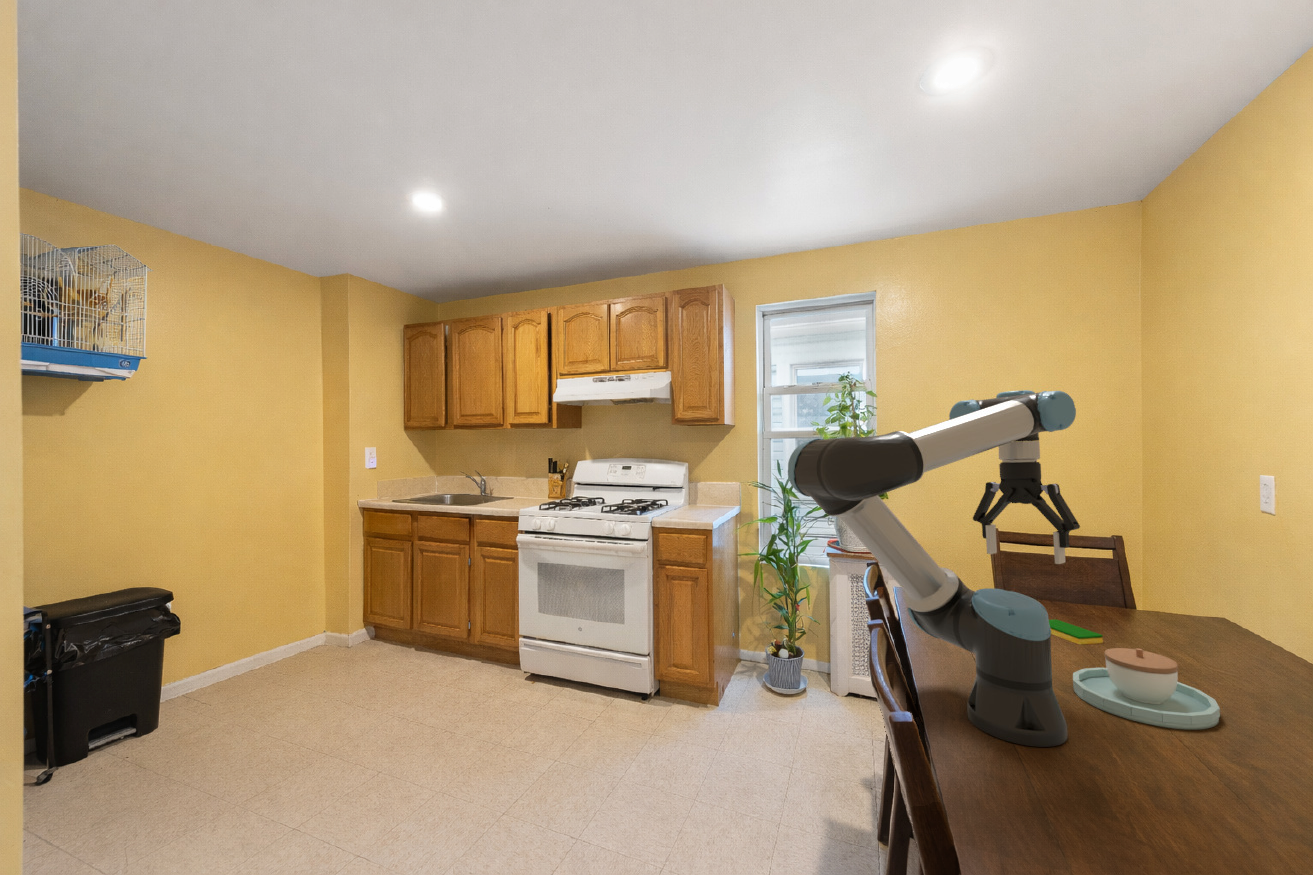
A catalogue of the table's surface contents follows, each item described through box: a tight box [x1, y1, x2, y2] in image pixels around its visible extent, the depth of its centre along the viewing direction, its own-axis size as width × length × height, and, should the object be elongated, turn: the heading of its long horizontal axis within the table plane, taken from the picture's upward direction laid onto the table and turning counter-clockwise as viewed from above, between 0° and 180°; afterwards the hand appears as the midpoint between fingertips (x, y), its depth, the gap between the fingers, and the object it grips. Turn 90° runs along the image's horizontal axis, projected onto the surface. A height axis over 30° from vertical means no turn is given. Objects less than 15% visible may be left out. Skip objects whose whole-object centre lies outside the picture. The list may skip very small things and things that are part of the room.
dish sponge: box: [1049, 618, 1104, 646], centre depth 142 cm, size 7×14×2 cm, turn 7°
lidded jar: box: [1104, 647, 1179, 704], centre depth 104 cm, size 11×11×9 cm
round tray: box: [1072, 667, 1221, 731], centre depth 104 cm, size 21×21×2 cm
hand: (1024, 558), depth 115 cm, fingers open, 13 cm apart
